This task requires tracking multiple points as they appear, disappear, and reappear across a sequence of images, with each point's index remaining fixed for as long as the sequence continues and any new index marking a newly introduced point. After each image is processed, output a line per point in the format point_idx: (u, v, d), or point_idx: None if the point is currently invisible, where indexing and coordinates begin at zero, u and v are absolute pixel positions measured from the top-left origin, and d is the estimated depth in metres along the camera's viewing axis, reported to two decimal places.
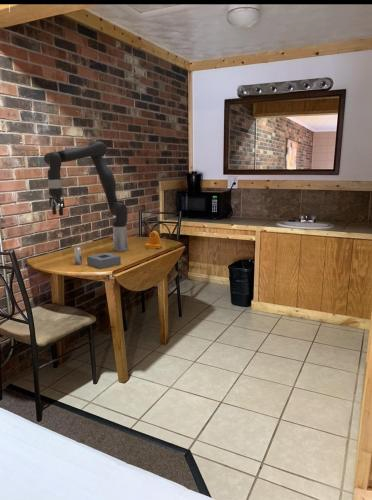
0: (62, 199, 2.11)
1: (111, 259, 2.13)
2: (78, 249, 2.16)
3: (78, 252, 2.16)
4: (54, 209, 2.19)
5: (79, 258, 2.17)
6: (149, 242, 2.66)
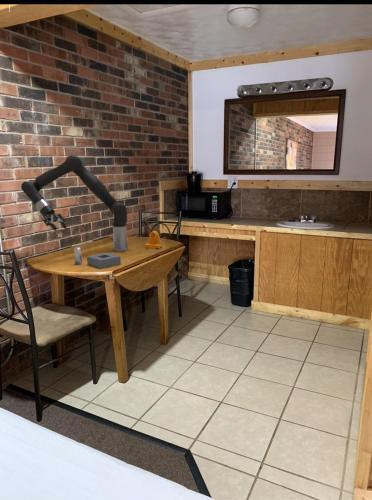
0: (43, 217, 2.14)
1: (111, 259, 2.13)
2: (78, 249, 2.16)
3: (78, 252, 2.16)
4: (62, 223, 2.23)
5: (79, 258, 2.17)
6: (149, 242, 2.66)
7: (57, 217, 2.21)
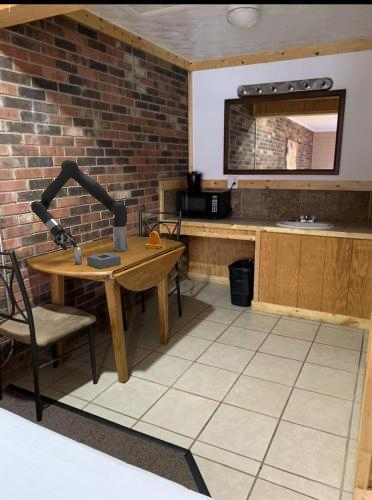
0: (53, 237, 2.14)
1: (111, 259, 2.13)
2: (78, 249, 2.16)
3: (78, 252, 2.16)
4: (72, 243, 2.23)
5: (79, 258, 2.17)
6: (149, 242, 2.66)
7: (67, 236, 2.21)
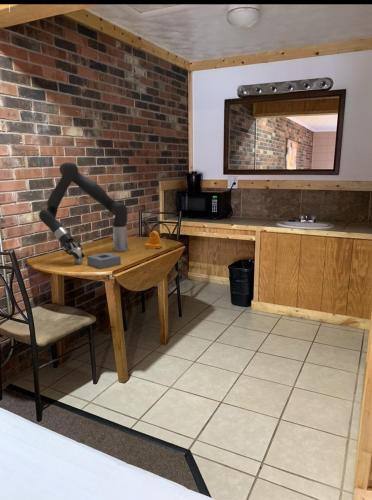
0: (64, 248, 2.13)
1: (111, 259, 2.13)
2: (78, 249, 2.16)
3: (78, 252, 2.16)
4: None
5: (79, 258, 2.17)
6: (149, 242, 2.66)
7: (75, 245, 2.19)
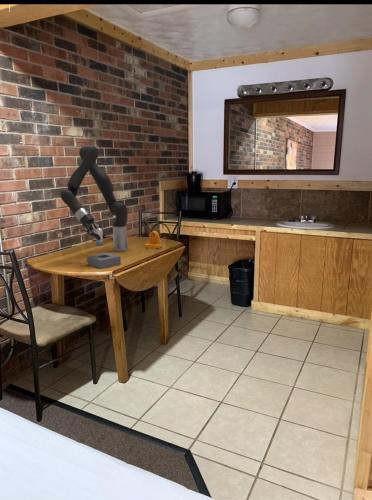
0: (86, 228, 2.10)
1: (111, 259, 2.13)
2: (99, 230, 2.12)
3: (99, 233, 2.13)
4: None
5: (100, 239, 2.14)
6: (149, 242, 2.66)
7: (96, 226, 2.16)
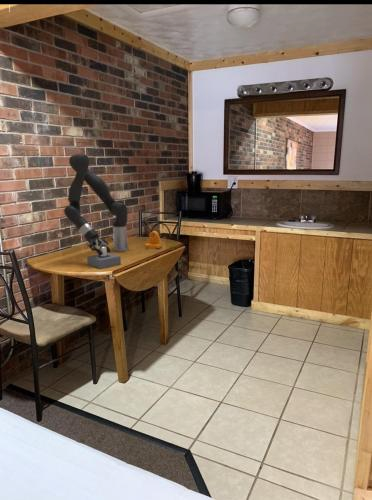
0: (88, 242, 2.11)
1: (111, 259, 2.13)
2: (104, 248, 2.15)
3: (104, 251, 2.15)
4: None
5: None
6: (149, 242, 2.66)
7: (101, 241, 2.18)
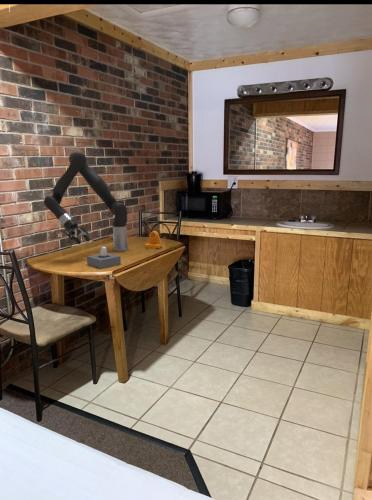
0: (67, 231, 2.16)
1: (111, 259, 2.13)
2: (104, 248, 2.15)
3: (104, 251, 2.15)
4: (85, 237, 2.25)
5: None
6: (149, 242, 2.66)
7: (80, 230, 2.23)
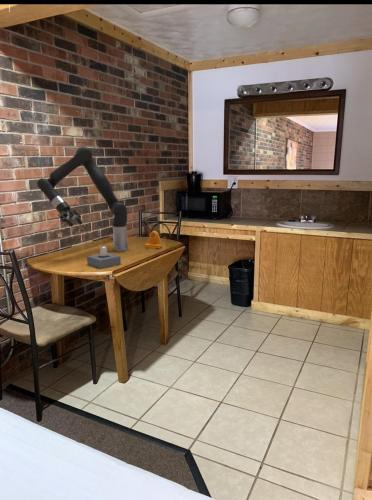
0: (60, 214, 2.17)
1: (111, 259, 2.13)
2: (104, 248, 2.14)
3: (104, 251, 2.15)
4: (78, 220, 2.26)
5: None
6: (149, 242, 2.66)
7: (73, 213, 2.24)
